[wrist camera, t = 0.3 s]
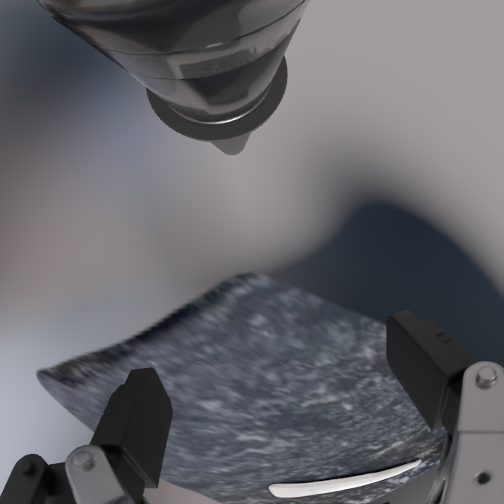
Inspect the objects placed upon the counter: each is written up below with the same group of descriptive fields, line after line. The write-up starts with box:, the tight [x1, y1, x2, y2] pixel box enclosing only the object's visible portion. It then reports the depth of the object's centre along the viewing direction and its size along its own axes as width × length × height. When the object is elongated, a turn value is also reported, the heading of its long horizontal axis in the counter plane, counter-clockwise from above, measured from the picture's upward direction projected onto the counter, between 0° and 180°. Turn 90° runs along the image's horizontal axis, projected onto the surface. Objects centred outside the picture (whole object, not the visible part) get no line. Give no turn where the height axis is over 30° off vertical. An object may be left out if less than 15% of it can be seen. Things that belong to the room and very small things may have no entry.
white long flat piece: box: [269, 459, 421, 498], centre depth 39 cm, size 28×4×2 cm, turn 89°
